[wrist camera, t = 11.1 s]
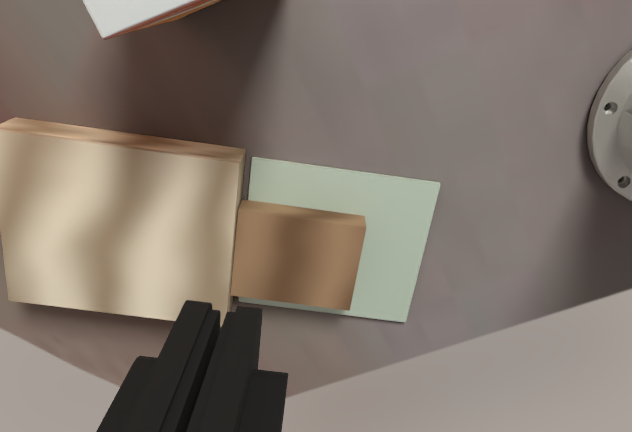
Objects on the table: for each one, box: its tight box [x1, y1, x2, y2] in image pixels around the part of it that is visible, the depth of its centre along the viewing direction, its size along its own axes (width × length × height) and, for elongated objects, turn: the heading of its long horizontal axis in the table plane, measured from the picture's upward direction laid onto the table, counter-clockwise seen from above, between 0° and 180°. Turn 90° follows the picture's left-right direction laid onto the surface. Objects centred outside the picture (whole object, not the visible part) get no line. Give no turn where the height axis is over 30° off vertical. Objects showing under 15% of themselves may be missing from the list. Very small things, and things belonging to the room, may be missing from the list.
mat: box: [239, 157, 440, 322], centre depth 40 cm, size 14×12×1 cm
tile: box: [231, 199, 366, 311], centre depth 39 cm, size 9×7×2 cm
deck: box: [0, 117, 246, 327], centre depth 38 cm, size 16×13×3 cm
